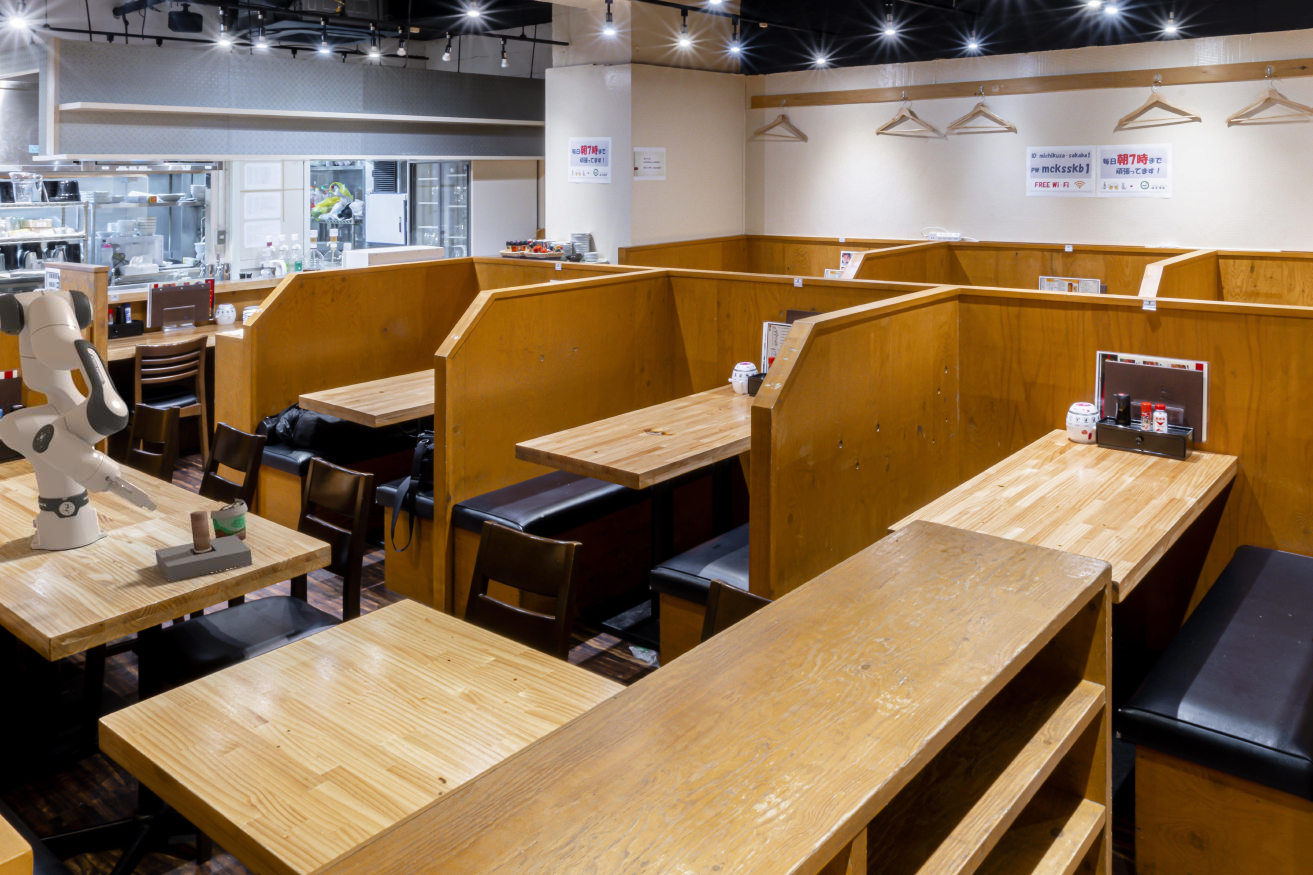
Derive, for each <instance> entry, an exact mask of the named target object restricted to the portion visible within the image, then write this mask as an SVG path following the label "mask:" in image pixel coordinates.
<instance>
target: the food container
mask: <svg viewBox="0 0 1313 875" xmlns="http://www.w3.org/2000/svg"><path fill="white" fill-rule="evenodd" d="M248 510H249V509H248V506H247V504H246V502H245V500H243V499H239V498H234V502H233V503H231V504H228V505H224V506H222V507H220V509H217V510H211V511H210V519H211V520H212V524H213V525H212V526H213V529H214V535H215V539H216V538H222V537H227V536H232V535H236V536H237V537H238V538H239V539H240V540H241V541H242V542H243V541H244V540H245V539H246V538H247V535H246V534H247V533H246V532H247V530H246V512H247V511H248Z"/></svg>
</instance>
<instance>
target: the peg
mask: <svg viewBox="0 0 1313 875" xmlns="http://www.w3.org/2000/svg"><path fill="white" fill-rule="evenodd" d="M189 515H190V524H191V532H192V541H193V542H192V543H194V552H195V555H199V554H204V553H209V552H211V543H210V540H211V536H210V527H209V526H210V525H209V518H208V512H207V511H206V510H197V511H196V510H195V511H193V512H191V513H190V514H189Z"/></svg>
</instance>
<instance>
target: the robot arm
mask: <svg viewBox="0 0 1313 875" xmlns="http://www.w3.org/2000/svg"><path fill="white" fill-rule="evenodd" d="M93 315H94V310H93V305H92V302H91V300H90V299H89V297H88V295H87V294H85V292H83V291H81V290H77V289H69V290H59V289H58V290H57V289H46V290H45V289H43V290H42V289H41V290H37V291H35V290H34V291H26V292H20V293H19V292H18V293H13V292H12V293H6V294H1V295H0V331H1V332H2V333H3V334H5V335H11V336H18V348H19V350H18V351H19V358H20V359H19V360H20V367H21V374H22V382H23V383H24V385H25V386H26V387H27V388H29V389H30V390H32V391H34V392H38V393H41V394H44V395H45V396H46V399H47V404H40V405H36V406H31V407H25V408H21V409H18V410H17V409H16V410H14V411H13V412H9V413H7V414H5V415H4V416H3V417H2V418H1V419H0V439H1V442H3V444H4V445H6V446H7V447H8V448H10V449H11V450H14V451H15V452H18V453H19V454H21V455H22V456H24V457H25V459H26V460H28V462H29V463H30V465H31V467H32V468H33V472H34V475H35V479H36V483H37V488H38V494H39V495H38V496H37V498H38V499H37V503H38V508H39V511H40V512H39V513H38V515H36V518H35V519H33V520H32V527H33V528H34V529H35V531H34V532H35V534H34V536H33V538H32V540H31V543H30V549H31V548H32V549H31V550H52V551H56V550H57V551H59V550H68V549H69V550H70V549H75V548H79V547H84V546H86V545H90V544H92V543H94V542H96V541H98V540H99V539H102V538H105V537H106V536H108V534H109V533H108V531H107V530H105V529H104V528H101V527H100V524H99V518H98V512H97V509H96V508H95V507H94V506H93V505H91V504H90V503H89V502H90V500H89V493H88V492H91V493H93V494H98V493H108V492H111V493H112V494H114V495H116V496H118V497H120V498H121V499H124V500H126V501H127V502H129V503H131V504H133V505H134V506H136V507H139V508H141V509H142V508H143V507H144V508H146V509H147V510H149V511H151V512H154V511H155V510H156V508H157V507H158V505H157V504H156V503H154V502H153V501H151V500H150V498H151V495H150V494H149V493H148V492H146V491H144V490H143V489H141V488H140V487H139V486H137V485H135V484H133V483H132V482H130V481H129V480H126V479H125V478H123V477H121V475H122V474H121V473H122V472H121V470H120V465H119V462H117V461H115V460H114V459H113V458H111V457H109V456H108V455H106V454H105V453H103V452H102V451H100V450H97V449H95V445H96V444H97V443H98V442H100V441H102V440H104V439H105V438H107V437H109V436H111V435H114V434H115V433H117V432H120V431H123V429H125V428H126V427H127V425H128V423H129V415H130V414H129V408H128V406H127V404H126V402H125V401H124V399H123V398H122V397H121V395H120V393H119V392H118V391H117V387H116V386H115V383H114V380H112V376H111V375H110V372H109V370H108V368H107V365H106V363H105V361H104V360H103V358H102V357H103V356H101V354H100V352H99V350H98V348H97V347H96V346H95V345H94V344H93V343H92V342H91V341H89V340H87V339H84V338H83V336H82V333H81V331H82V330H84V329H87V328H88V327H89V326H90V325H91V323H92V320H93ZM78 369H79V371H80V373H81V375H82V378H83V380H84V383H85V385H86V387H87V389H88V395H87V397H85V396H84V395H83V394H81V392H80V391H79V390H78V388H77V387H76V385H75V383H74V380H73V377H72V372H71V371H73V370H78Z"/></svg>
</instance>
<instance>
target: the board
mask: <svg viewBox="0 0 1313 875" xmlns="http://www.w3.org/2000/svg"><path fill="white" fill-rule="evenodd" d="M210 543H211V552H209V553H204V554H199V555H195V552H194V543H193V542H190V543H186V544H181V545H175V546H170V547H165V548H159V549H155V558H156V565H157V566H158V567H159V569H160V571H161V572H162V574H164V576H165V578H166V580H167V581H168V582H170V583H171V582H175V581H180V580H184V579H185V578H186V579H189V578H194V577H195V578H196V577H199V576H204V575H203V574H205V575H208V574H207V573H210V574H212V573H211V572H215V573H217V572H216V571H219V572H221V571H220V570H224V571H227V570H226V569H229V570H231V569H230V568H234V569H236V568H235V567H239V568H242V567H241V566H244V567H248V566H253V560H252V559H253V558H252V549H250V548H249V547H248V546H247V545H246V544H245V543H244V542H243V540H242V541H241V540H240V539H239V538H238V537H237V536H236V535H232V536H227V537H222V538H216V537H215V538H212V539H211V538H210ZM247 565H248V566H247Z"/></svg>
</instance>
